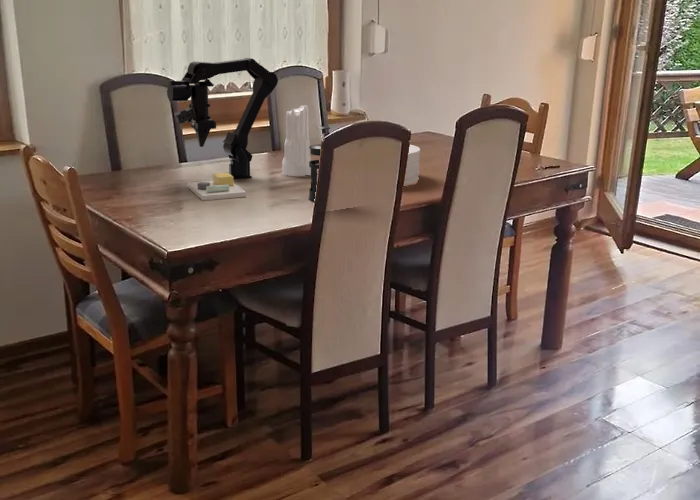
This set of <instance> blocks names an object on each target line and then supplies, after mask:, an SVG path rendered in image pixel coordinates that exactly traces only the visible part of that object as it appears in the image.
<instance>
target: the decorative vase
mask: <svg viewBox="0 0 700 500" xmlns="http://www.w3.org/2000/svg"><path fill="white" fill-rule="evenodd" d="M308 106H309V105H308V104H304V105H299V107H298V108H295V107H292V108H291V110H287V111H286V115H285V126H286V127H285V140H284V157H283V158H282V161H281V162H282V163H281V174H282V175H283V174H284V175H283V176H287V175H288V176H287V177H306V176H305V175H309V174H311V168H310V167H309V162H310V161H312V157H311V149H310V148H309V146H311V139H310V136H309V135H310V131H309V130H310V129H309V127H310V121H309V120H310V113H309V107H308ZM309 176H310V175H309Z"/></svg>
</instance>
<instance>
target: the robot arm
mask: <svg viewBox="0 0 700 500" xmlns="http://www.w3.org/2000/svg"><path fill="white" fill-rule="evenodd" d="M245 71H246V72H247V73H248V74H249V76H250V77H251V78H252V79H253V84H252V93H251V96H250V98H249V100H248V102H247V104H246V107H245V109H244V111H243V113H242V115H241V117H240V120H239V122H238V124H237V126H236V128H235V129H234V130H233V131H232V132H230V131H227V133H226V136H225V139H224V140H223V141H222V143H223V147H222V148H223V151H224V152H225V154H227V157H228V158H229V159H230V160H229V162H230V163H228V171H229V172H228V173H229V174H230V175H232V176H233V180H241V179H251V178H252V176H251V162H252V159H253V154H252V153H251V152H249V151H248V150H247V148H248V145H249V134H250V132H251V130H252V128H253V125H254V123H255V122H256V119H257V117H258V114H259V113H260V111H261V108H262V106H263V104H264V103H265V102H264V101H265V100H266V98H267V97H269V96H270V94H272V92H273V91H274V90H275V88H276V87H277V85H278V82H279V79H278V76H277V74H276V73H274V72H273V71H269V70H268V68H265V67H264V66H263V65H261V64H260V63H258V61H256V60H255V59H254V58H250V57H245V58H240V59H233V60H232V59H231V60H226V61H218V62H207V61H192V62H190V63H189V64H188V66H187V71H186V72H185V74H184V75H183V77H182V79H181V80H169V81H168V86H167V90H166V96H167V99H168V101H169V102H171V103H173V102H187V101H189V99H190V102H189V103H188V107H186V108H184V109H182V110H179V111H177V112H174V113H173V116H174V118H175V120H176V122H177V124H179V125H180V124H183V123H184V122H185V123H187V124H189V123H190V122H191V124H190V125H189V126H190V128H191V129H193V130H194V133H195V135H196V138H197V139H196V140H197V142H198V145H199V147H200V148H203V147H204V146H205V143H206V141H207V138H208V136H209V135H210V132H211V130H215V129H217V122H216V121H215V120H214V119H212V118H211V116H210V111H209V108H210V107H211V104H210V103H209V87H214V86H215V84H214V83H212V82H211V81H210V79H211V78H213V77H216V76H217V75H222V74H231V73H237V72H238V73H239V72H245Z"/></svg>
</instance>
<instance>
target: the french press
mask: <svg viewBox="0 0 700 500" xmlns="http://www.w3.org/2000/svg"><path fill="white" fill-rule="evenodd" d="M316 129H318V130H321V133H322V140H323V139H324V140H325V134H326V130H330V129H331V127H330V126H323V125H322V126H317V127H316ZM309 148H310V155H312V156H316V157H317V156H319V157H320V149H321V144H312V145H311V144H310V146H309ZM319 160H320V159H313V160H311V161H310V162H309V167H310V168H311V175H310V179H309V181H310V187H309V189H308V196H309V197H308V201H309V202H313V203H315V202H314V199H315V192H316V185H317V186H318V184H317V177H318V170H320V169H319V165H320V164H319Z"/></svg>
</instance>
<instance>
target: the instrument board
mask: <svg viewBox="0 0 700 500" xmlns="http://www.w3.org/2000/svg"><path fill="white" fill-rule="evenodd" d="M234 181H235V179H233V176H232V175H230V174H229V172H227V171H226V172H215V173H212V180H209V181H208V180H206V181H198V182H197V181H196V182H195V181H194V182H187V188H188V189H189V190H191V192H193V193H194V195H196V196H197V197H198V198H199V199H200V200H201V201H211V200H212V201H213V200H223V199H237V198H247V192H246V191H245V190H244V189H243V188H242V187H240V186H239V185H237V184H235V182H234Z"/></svg>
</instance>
